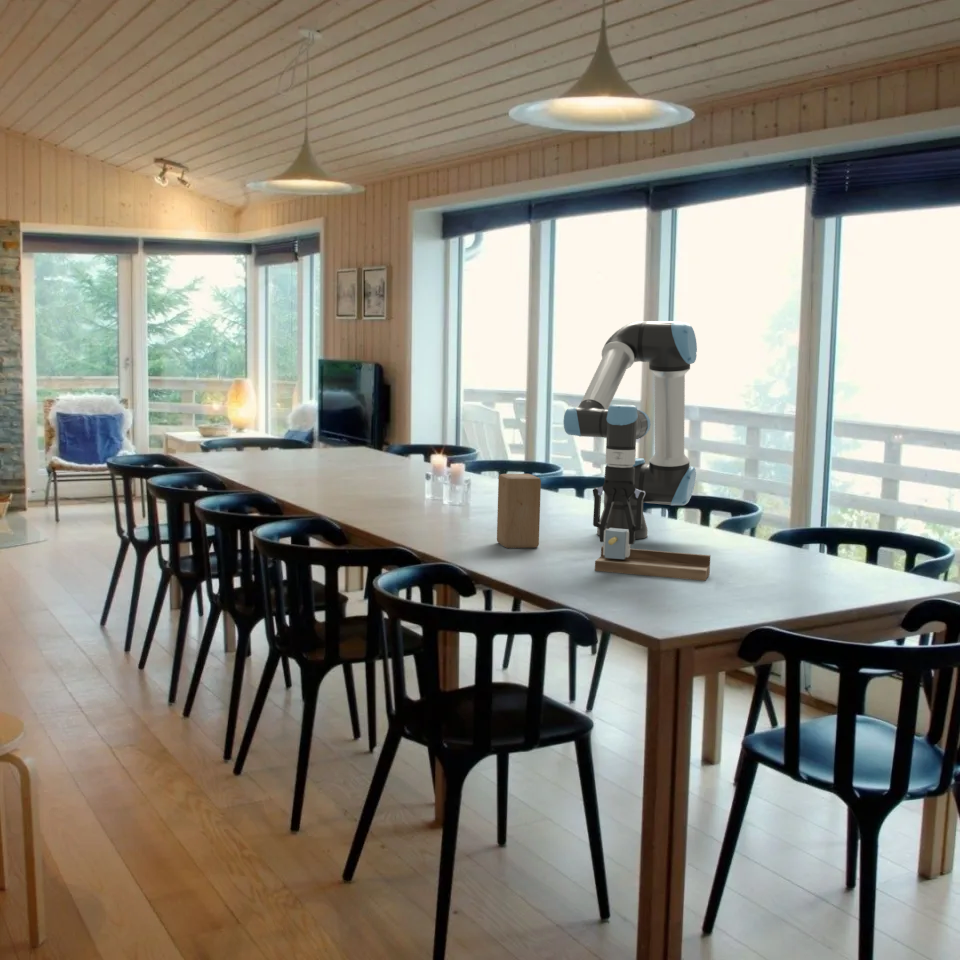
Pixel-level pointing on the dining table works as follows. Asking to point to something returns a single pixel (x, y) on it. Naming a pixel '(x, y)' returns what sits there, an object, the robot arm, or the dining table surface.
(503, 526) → the wooden block
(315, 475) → the dining table surface
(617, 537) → the grey cube mallet
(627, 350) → the robot arm
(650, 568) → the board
